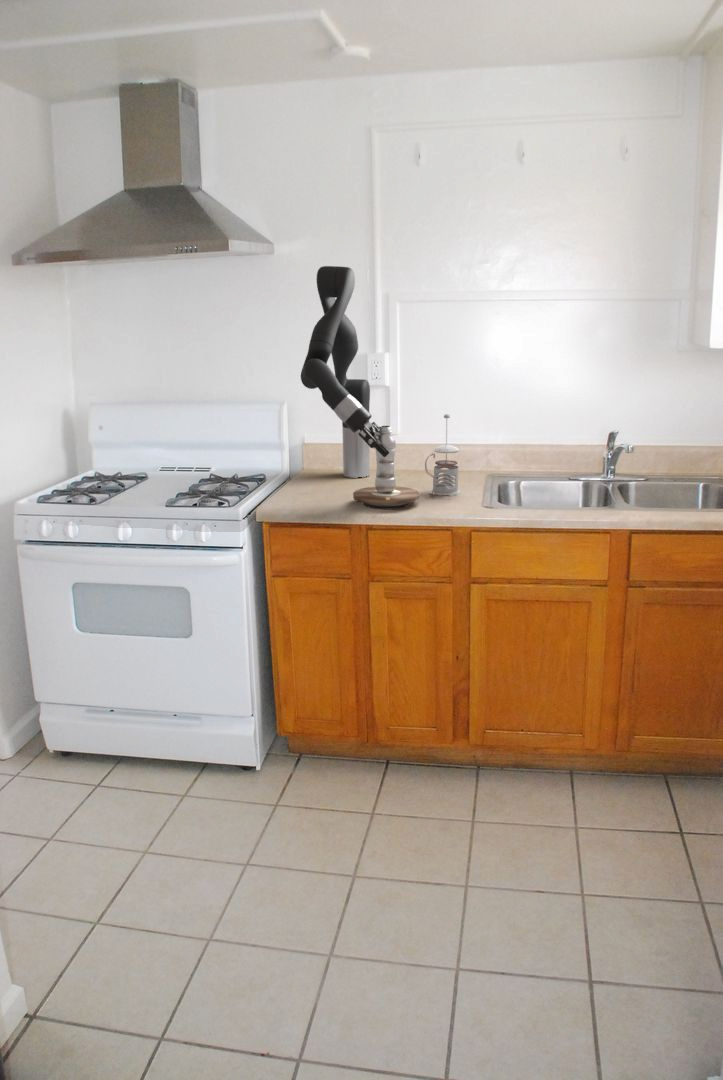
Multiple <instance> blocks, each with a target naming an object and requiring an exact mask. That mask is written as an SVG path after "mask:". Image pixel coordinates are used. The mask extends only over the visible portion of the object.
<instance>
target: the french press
mask: <svg viewBox="0 0 723 1080" xmlns="http://www.w3.org/2000/svg"><path fill="white" fill-rule="evenodd" d="M450 417H451V416H450V414H448V413H445V414H444V415H443V418H444V419H446V422H445V423H446V424H445V426H446V430H445V432H446V433H445V434H446V435H445V436H446V437H445V444H442V445H441V444H440V445H439V446H437V447H435V448H434V449H433V451H434V452H435V453H434V452H432V453H431V454H429V455H428V456H427V457H426V459H425V461H424V469H425V472H426V474H427V475H429V476H430V477H431V478H433V480H432V481H433V482H432V483H433V485H432V486H433V487H432V490H430V493H431V492H432V493H434V494H433V495H435V494H438V495H437V496H442V495H451V496H456V495H455V494H458V495H460V494H461V493H460V491H461V490H460V489H459V466H457V465H458V462H457V461H456V460H451V459H447V454H456V453H459V451H460V449H459V448H458V447H456V446H454V445H451V444H448V419H450ZM436 453H437V454H445V459H441V460H436V461H435V462H434V463H435V466H434V467H433V474H432V473H431V472H430V471H429V470H428V467H427V462H428V459H429V458H430V457H431V456H433V459H435V458H436ZM432 493H431V494H432ZM459 493H460V494H459Z"/></svg>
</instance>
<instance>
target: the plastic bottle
mask: <svg viewBox="0 0 723 1080" xmlns="http://www.w3.org/2000/svg"><path fill="white" fill-rule="evenodd" d="M378 426H379V425H378ZM379 433H380V435H379V438H378V439H379V441H380V442H381V444H382V445H383V446H384V447H385V448H386V449H387V450H388V451H389V454H388V455H387V456H386V457H383V456H382V455H381V454H380V453H379V452H378V451H377V450H376V449H374V450H375V456H376V471H375V472H376V474H375V479H374V487H375V488H376V490H377V491H379V492H384V493H387V492H392V491H394V490H395V487H396V486H397V479H396V475H395V473H396V472H395V458H396V457H395V456H396V448H397V443H396V440H395V439H394V437H393V436H392V426H391V425H380V426H379Z"/></svg>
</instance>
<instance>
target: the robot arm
mask: <svg viewBox="0 0 723 1080" xmlns="http://www.w3.org/2000/svg"><path fill="white" fill-rule="evenodd" d="M355 284H356V277H355V272H354V270H353V269H352V268H351V267H348V266H337V265H336V266H335V265H334V266H332V265H325V266H324V265H323V266H320V267H319V268H318V270H317V272H316V288H317V291H318V296H319V301H320V303H321V308H322V310H323V314H324V315H322V317H321V318H320V319H318V321H317V322H316V323H315V325H314V327H313V329H312V333H311V336H310V340H309V345H308V350H307V353H306V356H305V360H304V362H303V365H302V368H301V372H300V380H301V383H302V385H303V386H304V387H305V388H307V389H309V390H310V389H311V390H314V389H317V388H318V390H319V392H321V397H322V400H323V401H324V403H325V404H326V405H327V406H328V407H329V408H330V409H331V410H332V411H333V412H334V413H335V414H336V416H337V418H339V419H340V420H341V424H342V425H341V427H342V471H343V474H342V475H343V477H345V478H350V479H351V478H352V479H353V478H354V479H358V477H362V478H367V477H369V476H370V475H371V474H370V473H371V472H370V470H371V468H370V467H371V466H370V448H371V449H374V450H375V449H376V450H377V451H378V452H379V453H380V454H381V455H382V456H383V457H386V456H387V455H388V454H389V451H388V450H387V449H386V448H385V447H384V446H383V445H382V444H381V442H380V441H379V439H378V438H379V435H380V433H379V425H378V424H377V423H376V422H375V421H372V423H371V422H370V419H371V418H372V414H371V413H370V404H371V403H370V402H371V400H370V399H371V388H370V387H371V386H370V383H369V381H368V380H367V379H357V378H355V379H354V378H348V377H347V373H348V370H349V367H350V366H351V364H352V363H353V361H354V359H355V358H356V356H357V354H358V351H359V342H358V334H357V330H356V326H355V325H354V324H353V322H352V321H351V320H350V319H349V317H348V316H347V315H346V314H345V312H346V310H347V307H348V305H349V303H350V301H351V300H352V299H351V298H352V295H353V293H354V290H355V287H356V286H355ZM330 356H331V358H332V364H333V368H334V369H333V370H334V371H332V369H331V368H330V367H329V365H328V361H329V358H330ZM376 450H375V451H376ZM366 476H367V477H366Z"/></svg>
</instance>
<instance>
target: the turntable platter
mask: <svg viewBox="0 0 723 1080" xmlns="http://www.w3.org/2000/svg"><path fill="white" fill-rule="evenodd" d="M352 495H353V497H352V498H353V500H355V501H356V502H358V503H362V504H363V503H367V504H375V505H396V504H405V503H409V504H410V503H413V502H415V501H418V500H419V499H420V492H419V491H418V490H416V489H414V488H410V487H405V486H397V485H396V487H395V490H394V491H392V492H387V493H384V492H379V491H377V490H376V488H375V486H367V487H362V488H360V489H357V490H356V489H355V491H354V492H353V494H352Z"/></svg>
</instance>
